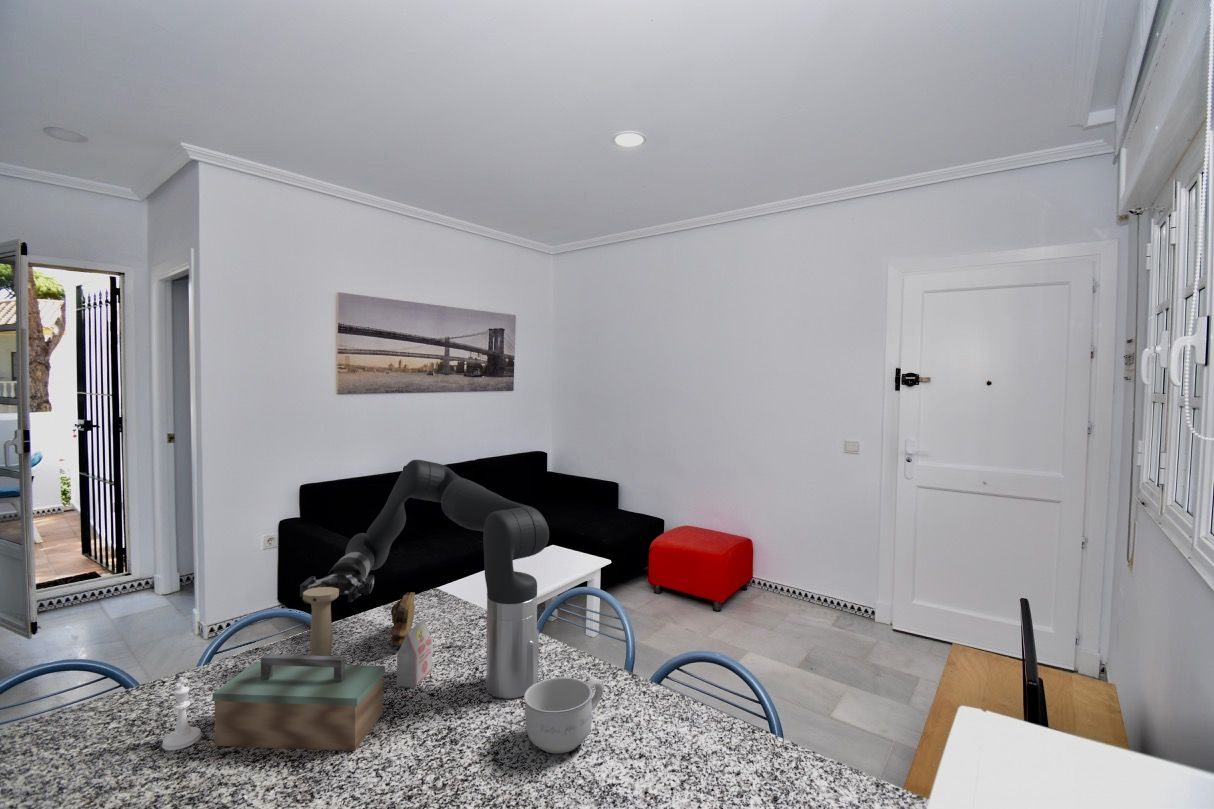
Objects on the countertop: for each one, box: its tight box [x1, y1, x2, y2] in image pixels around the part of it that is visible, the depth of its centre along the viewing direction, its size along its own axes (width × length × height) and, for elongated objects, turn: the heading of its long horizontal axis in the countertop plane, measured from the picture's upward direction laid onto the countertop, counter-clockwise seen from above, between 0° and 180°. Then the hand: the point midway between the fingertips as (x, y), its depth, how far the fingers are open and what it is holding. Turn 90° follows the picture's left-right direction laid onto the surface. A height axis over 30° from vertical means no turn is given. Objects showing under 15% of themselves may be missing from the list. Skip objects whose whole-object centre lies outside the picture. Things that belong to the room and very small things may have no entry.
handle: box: [302, 587, 340, 656], centre depth 112 cm, size 5×6×15 cm
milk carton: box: [396, 619, 433, 689], centre depth 108 cm, size 4×7×10 cm, turn 171°
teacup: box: [523, 676, 604, 755], centre depth 90 cm, size 14×11×8 cm
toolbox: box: [212, 653, 386, 752], centre depth 96 cm, size 23×18×12 cm
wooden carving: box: [390, 592, 416, 646], centre depth 124 cm, size 16×5×10 cm, turn 16°
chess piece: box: [161, 676, 202, 751], centre depth 88 cm, size 5×5×10 cm
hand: (328, 598), depth 118 cm, fingers open, 8 cm apart
